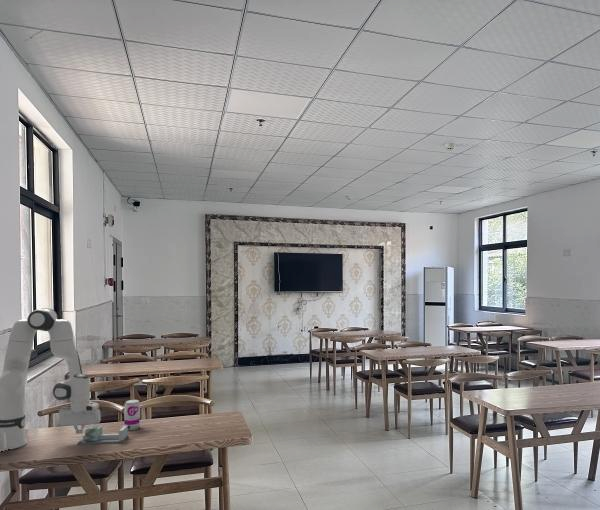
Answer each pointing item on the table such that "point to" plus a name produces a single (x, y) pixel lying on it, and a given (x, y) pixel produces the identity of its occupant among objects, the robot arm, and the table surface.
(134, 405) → the supplement can
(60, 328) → the robot arm
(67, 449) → the table surface
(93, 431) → the keeper
